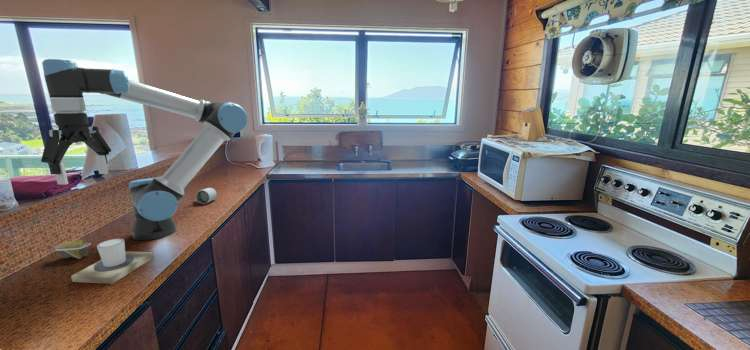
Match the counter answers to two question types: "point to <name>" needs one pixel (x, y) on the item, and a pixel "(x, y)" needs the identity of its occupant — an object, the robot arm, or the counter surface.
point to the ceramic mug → (205, 195)
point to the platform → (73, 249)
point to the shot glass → (112, 252)
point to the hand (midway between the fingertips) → (84, 178)
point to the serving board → (112, 269)
